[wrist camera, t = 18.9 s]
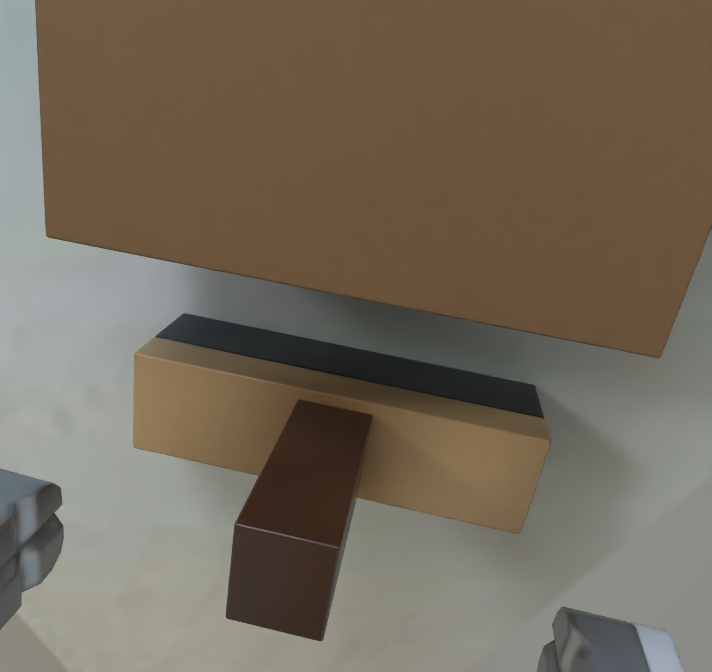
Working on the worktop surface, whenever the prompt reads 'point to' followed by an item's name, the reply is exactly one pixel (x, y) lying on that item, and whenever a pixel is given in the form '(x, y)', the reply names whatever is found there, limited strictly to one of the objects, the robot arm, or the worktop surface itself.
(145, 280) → the worktop surface
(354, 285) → the cabinet
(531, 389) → the brush
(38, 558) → the robot arm
